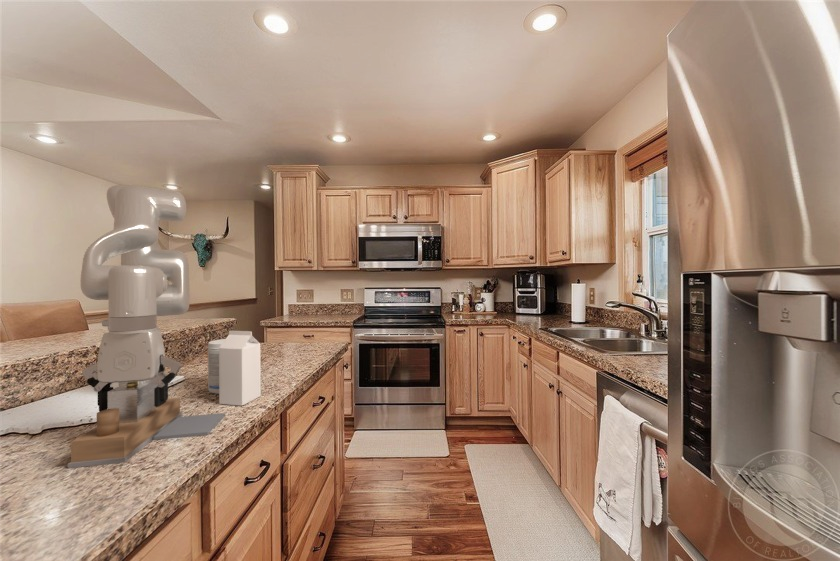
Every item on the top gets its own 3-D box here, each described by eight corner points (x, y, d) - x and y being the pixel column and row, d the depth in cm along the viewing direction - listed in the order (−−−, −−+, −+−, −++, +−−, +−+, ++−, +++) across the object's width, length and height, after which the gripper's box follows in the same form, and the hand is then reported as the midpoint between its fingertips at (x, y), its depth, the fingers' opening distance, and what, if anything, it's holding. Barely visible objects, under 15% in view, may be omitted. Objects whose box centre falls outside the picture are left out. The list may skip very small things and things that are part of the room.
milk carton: (242, 406, 84) (242, 333, 84) (219, 404, 86) (218, 332, 86) (260, 396, 91) (260, 329, 91) (239, 395, 93) (238, 328, 93)
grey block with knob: (131, 410, 71) (130, 377, 71) (157, 408, 72) (157, 375, 72) (107, 424, 64) (107, 387, 64) (137, 422, 65) (137, 385, 65)
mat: (178, 419, 76) (178, 417, 76) (225, 415, 79) (225, 413, 79) (153, 439, 67) (153, 437, 67) (207, 434, 69) (207, 431, 69)
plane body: (141, 419, 77) (140, 379, 77) (182, 415, 79) (181, 376, 79) (67, 468, 57) (67, 414, 57) (125, 462, 59) (124, 409, 59)
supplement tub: (249, 389, 98) (248, 340, 98) (212, 397, 91) (212, 345, 91) (239, 382, 104) (239, 336, 104) (204, 389, 98) (204, 340, 98)
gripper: (68, 328, 62) (68, 418, 62) (171, 325, 66) (171, 409, 66) (97, 323, 69) (98, 403, 69) (188, 321, 73) (189, 396, 73)
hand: (133, 406), depth 68 cm, fingers open, 9 cm apart
